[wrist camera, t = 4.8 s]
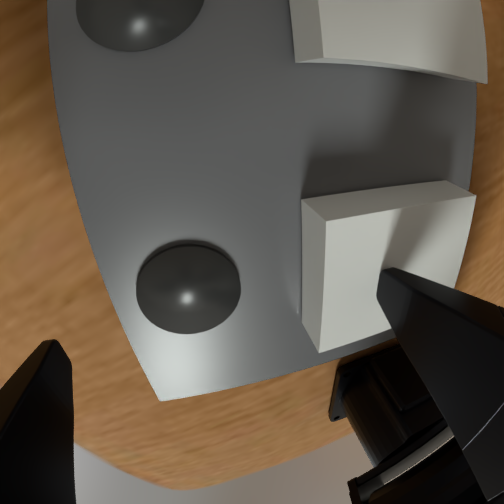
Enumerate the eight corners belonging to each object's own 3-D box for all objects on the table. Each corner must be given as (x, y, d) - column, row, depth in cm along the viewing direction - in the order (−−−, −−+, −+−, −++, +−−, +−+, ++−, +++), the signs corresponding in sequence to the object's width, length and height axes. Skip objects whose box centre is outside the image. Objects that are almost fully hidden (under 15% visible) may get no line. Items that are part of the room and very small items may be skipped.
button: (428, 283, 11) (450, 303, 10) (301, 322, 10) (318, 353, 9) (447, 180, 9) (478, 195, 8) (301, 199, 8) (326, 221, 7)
